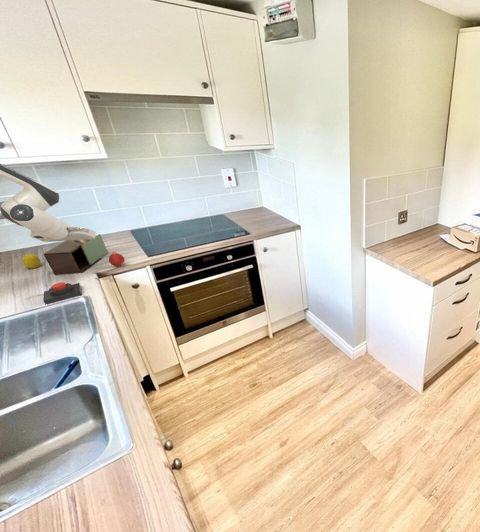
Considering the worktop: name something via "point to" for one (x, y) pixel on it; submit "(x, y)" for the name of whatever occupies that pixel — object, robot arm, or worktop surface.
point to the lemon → (31, 261)
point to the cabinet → (68, 258)
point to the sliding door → (94, 249)
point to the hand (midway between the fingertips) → (79, 241)
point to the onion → (116, 259)
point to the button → (59, 286)
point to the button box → (62, 293)
